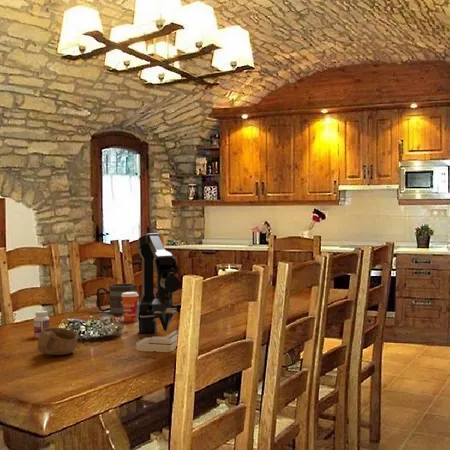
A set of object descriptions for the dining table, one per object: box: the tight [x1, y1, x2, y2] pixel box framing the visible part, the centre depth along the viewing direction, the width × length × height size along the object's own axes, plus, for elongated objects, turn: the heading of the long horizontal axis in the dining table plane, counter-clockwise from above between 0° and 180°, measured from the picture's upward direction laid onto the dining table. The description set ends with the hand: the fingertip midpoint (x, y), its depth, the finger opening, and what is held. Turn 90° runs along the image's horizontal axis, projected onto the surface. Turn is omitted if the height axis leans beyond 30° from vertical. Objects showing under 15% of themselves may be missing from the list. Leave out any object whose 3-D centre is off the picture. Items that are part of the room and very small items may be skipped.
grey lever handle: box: [165, 329, 179, 343], centre depth 240 cm, size 3×10×6 cm
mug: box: [96, 282, 137, 316], centre depth 317 cm, size 20×14×15 cm
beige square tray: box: [135, 336, 177, 353], centre depth 242 cm, size 14×14×3 cm
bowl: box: [37, 327, 80, 356], centre depth 232 cm, size 18×14×10 cm
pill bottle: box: [33, 310, 51, 339], centre depth 264 cm, size 6×6×11 cm
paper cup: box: [121, 291, 139, 323], centre depth 294 cm, size 8×8×14 cm
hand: (165, 330), depth 241 cm, fingers closed
